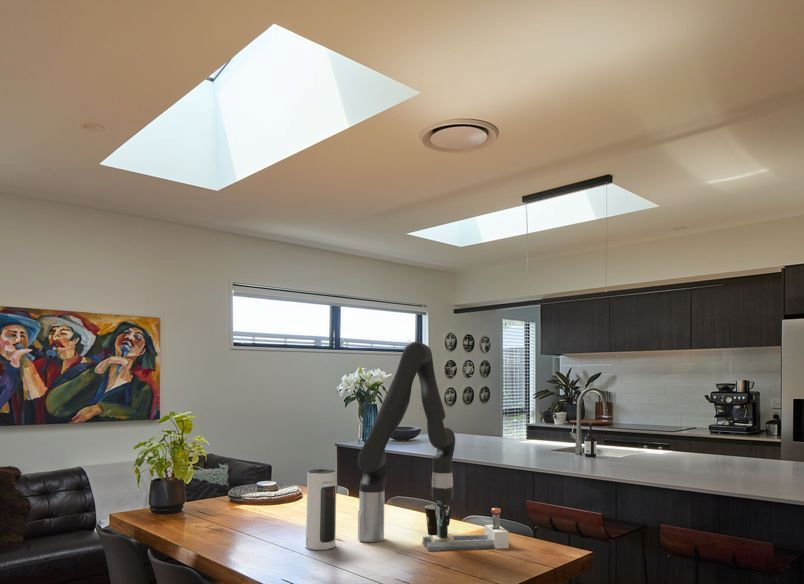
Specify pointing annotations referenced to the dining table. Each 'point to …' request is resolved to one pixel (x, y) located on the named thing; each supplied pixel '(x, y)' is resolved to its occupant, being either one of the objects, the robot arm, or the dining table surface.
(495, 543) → the end cabinet
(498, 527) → the gauge plunger
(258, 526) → the dining table surface
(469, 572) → the dining table surface
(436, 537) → the carriage
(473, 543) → the rail bed
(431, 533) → the coffee mug
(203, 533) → the dining table surface
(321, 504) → the speaker
